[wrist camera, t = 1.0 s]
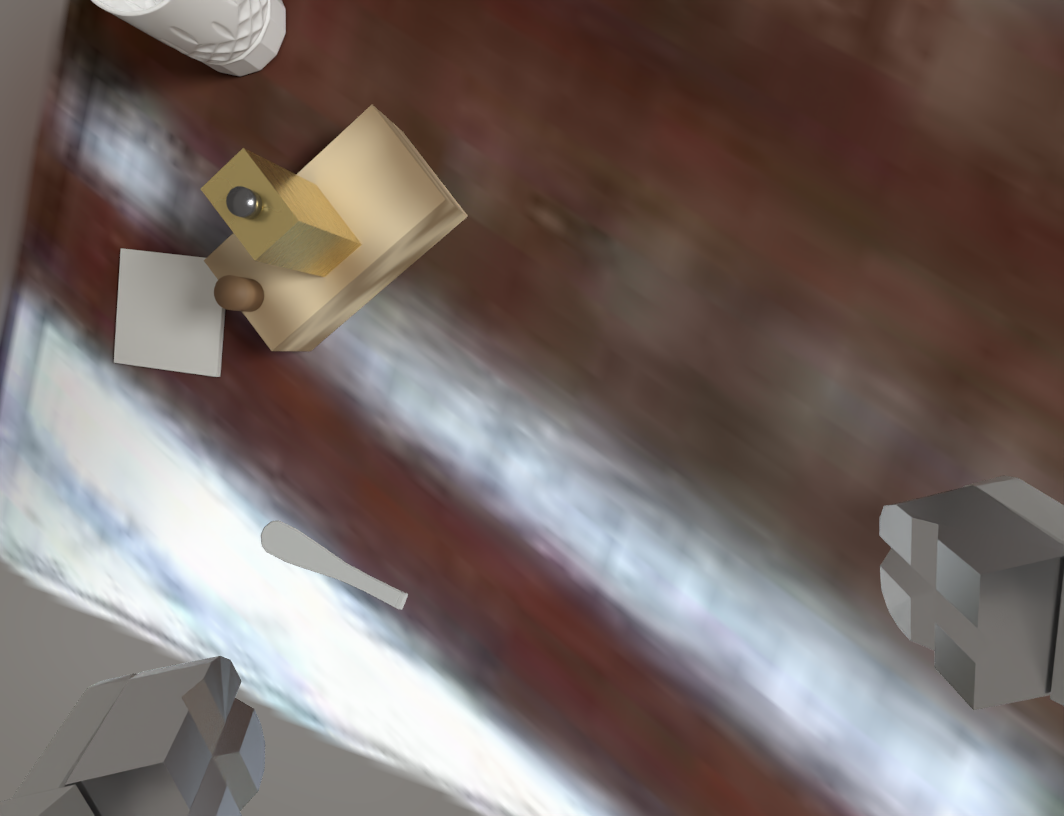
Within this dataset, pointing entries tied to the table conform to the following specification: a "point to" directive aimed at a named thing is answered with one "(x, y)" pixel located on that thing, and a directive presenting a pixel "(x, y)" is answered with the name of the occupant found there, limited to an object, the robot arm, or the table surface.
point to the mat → (168, 313)
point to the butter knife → (323, 561)
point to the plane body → (371, 214)
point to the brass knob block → (280, 216)
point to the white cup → (210, 29)
